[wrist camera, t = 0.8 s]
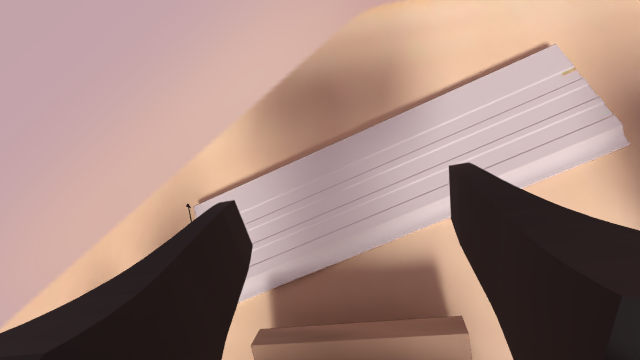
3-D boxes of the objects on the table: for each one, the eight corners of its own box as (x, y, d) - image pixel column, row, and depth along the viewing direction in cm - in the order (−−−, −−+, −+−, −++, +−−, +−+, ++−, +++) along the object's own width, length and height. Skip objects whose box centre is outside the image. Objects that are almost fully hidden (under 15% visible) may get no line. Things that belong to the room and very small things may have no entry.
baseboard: (637, 168, 22) (547, 56, 26) (667, 151, 19) (562, 29, 23) (229, 329, 25) (202, 210, 29) (208, 333, 23) (182, 202, 27)
